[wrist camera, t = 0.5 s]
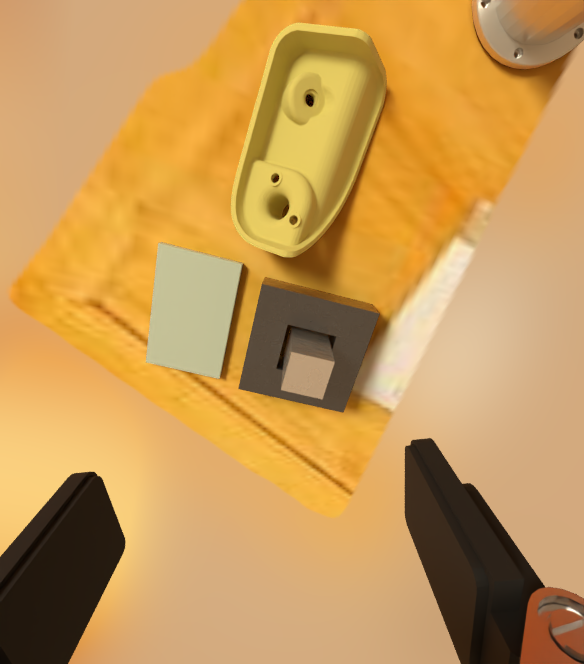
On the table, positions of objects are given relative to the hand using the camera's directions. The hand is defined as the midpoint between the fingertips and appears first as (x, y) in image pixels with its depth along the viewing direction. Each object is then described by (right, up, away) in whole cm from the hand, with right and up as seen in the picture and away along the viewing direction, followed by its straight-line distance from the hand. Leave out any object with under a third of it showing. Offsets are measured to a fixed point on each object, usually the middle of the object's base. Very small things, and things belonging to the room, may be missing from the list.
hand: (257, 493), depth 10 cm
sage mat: (-12, +7, +32) cm, 35 cm away
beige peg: (+3, +4, +33) cm, 34 cm away
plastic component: (+2, +24, +26) cm, 36 cm away
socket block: (+3, +4, +33) cm, 34 cm away
